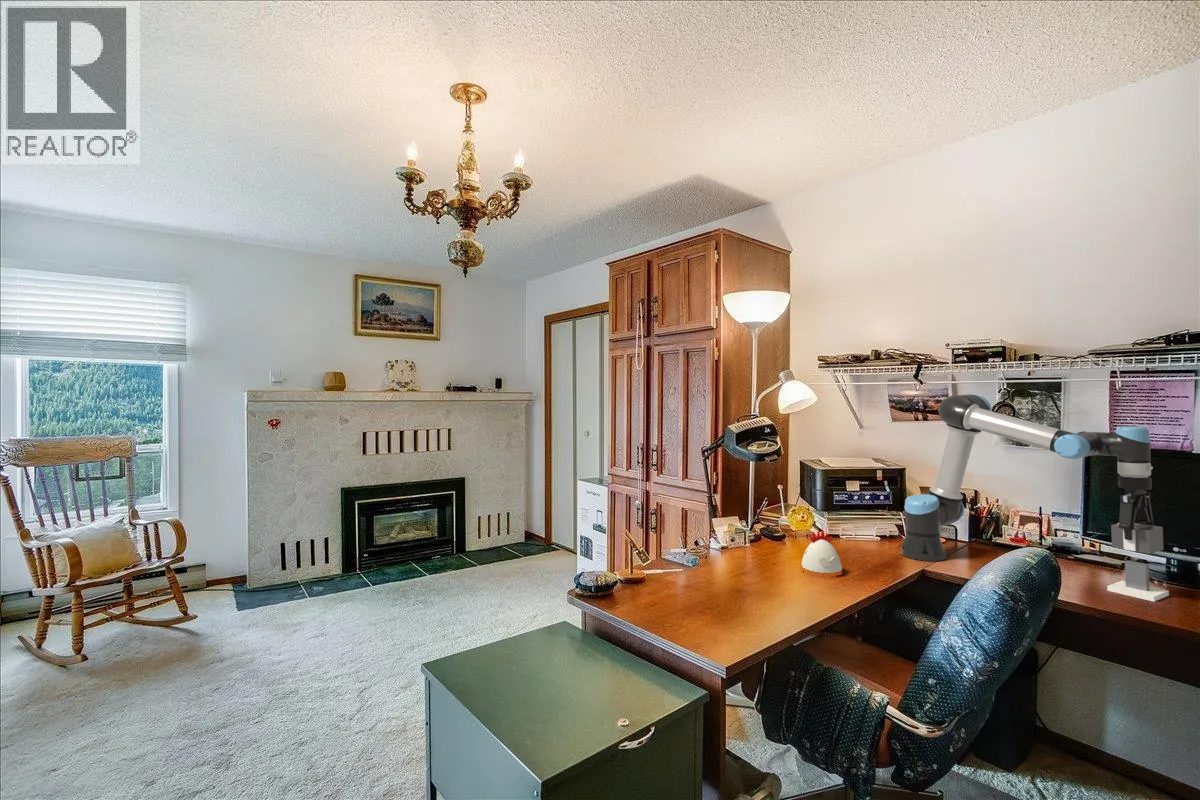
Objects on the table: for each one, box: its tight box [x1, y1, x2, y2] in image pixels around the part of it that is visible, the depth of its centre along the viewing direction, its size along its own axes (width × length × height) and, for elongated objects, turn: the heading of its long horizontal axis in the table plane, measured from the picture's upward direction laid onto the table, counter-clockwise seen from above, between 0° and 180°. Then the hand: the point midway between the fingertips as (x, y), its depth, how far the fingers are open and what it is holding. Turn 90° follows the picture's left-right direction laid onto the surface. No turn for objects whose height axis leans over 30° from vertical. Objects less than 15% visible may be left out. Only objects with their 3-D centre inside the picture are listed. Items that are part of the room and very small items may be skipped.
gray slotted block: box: [1110, 522, 1164, 555], centre depth 170 cm, size 9×9×7 cm
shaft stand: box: [1106, 560, 1170, 603], centre depth 171 cm, size 11×10×10 cm
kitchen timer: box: [801, 530, 843, 573], centre depth 200 cm, size 14×14×15 cm
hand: (1137, 547), depth 170 cm, fingers closed on gray slotted block, 9 cm apart
